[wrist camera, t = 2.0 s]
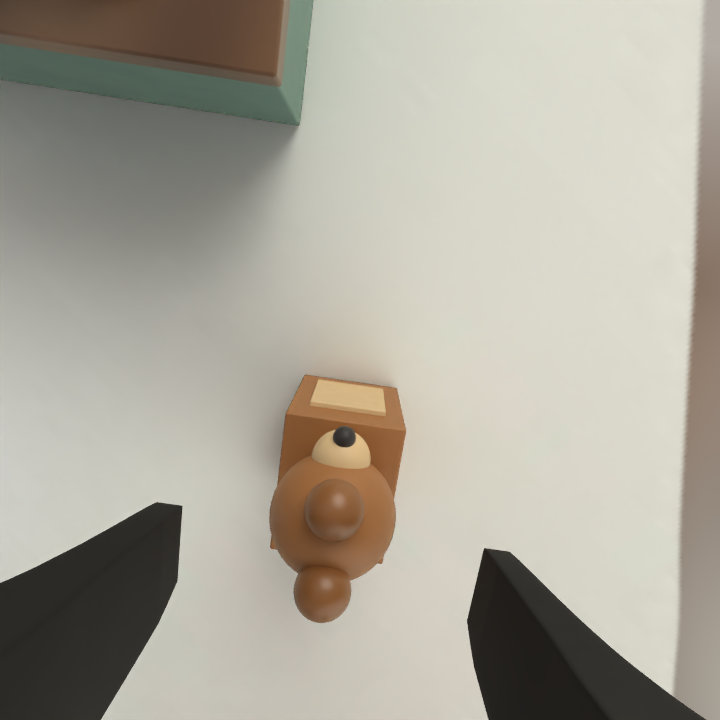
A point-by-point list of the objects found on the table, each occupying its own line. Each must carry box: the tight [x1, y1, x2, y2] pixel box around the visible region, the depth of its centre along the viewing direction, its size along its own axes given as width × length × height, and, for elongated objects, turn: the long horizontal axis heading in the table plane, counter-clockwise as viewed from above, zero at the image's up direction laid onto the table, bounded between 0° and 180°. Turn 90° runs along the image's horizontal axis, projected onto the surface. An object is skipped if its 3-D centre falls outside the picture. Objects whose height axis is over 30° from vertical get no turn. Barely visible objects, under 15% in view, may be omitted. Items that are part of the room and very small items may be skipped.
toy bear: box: [269, 375, 406, 623], centre depth 15 cm, size 4×5×8 cm
